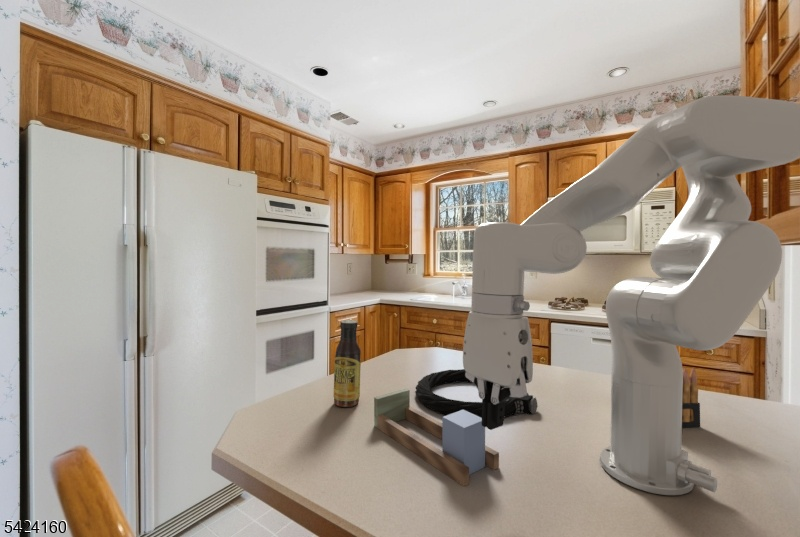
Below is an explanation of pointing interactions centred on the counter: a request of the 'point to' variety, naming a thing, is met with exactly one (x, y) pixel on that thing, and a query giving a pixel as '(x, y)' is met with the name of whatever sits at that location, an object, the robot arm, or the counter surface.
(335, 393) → the sauce bottle
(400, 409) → the track
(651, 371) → the robot arm
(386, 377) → the counter surface
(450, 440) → the block
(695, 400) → the ammunition clip
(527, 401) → the cable lock
